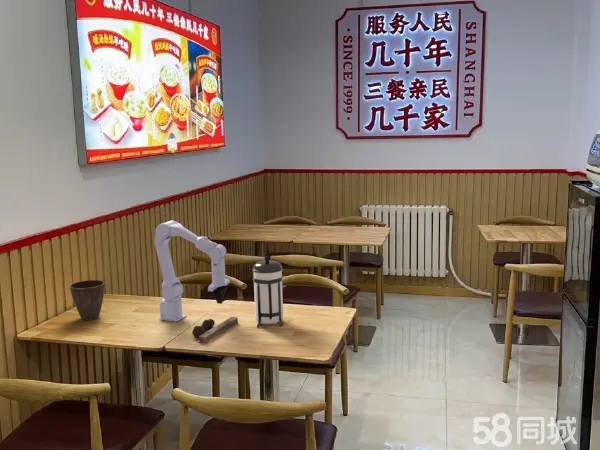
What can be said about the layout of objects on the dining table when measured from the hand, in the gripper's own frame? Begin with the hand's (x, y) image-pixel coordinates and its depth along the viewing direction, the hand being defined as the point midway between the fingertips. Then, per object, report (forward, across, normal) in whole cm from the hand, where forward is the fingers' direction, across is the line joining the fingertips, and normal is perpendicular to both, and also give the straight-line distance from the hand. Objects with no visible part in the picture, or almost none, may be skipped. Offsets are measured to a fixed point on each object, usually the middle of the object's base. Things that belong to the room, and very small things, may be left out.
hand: (219, 303), depth 256 cm
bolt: (+9, -13, -1) cm, 16 cm away
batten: (+8, -12, -6) cm, 16 cm away
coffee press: (+9, +4, -22) cm, 24 cm away
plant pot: (+9, -15, +60) cm, 63 cm away
